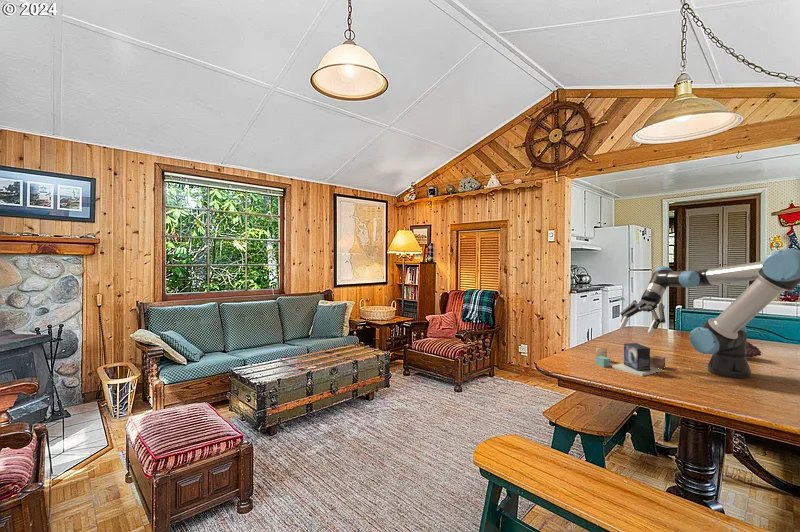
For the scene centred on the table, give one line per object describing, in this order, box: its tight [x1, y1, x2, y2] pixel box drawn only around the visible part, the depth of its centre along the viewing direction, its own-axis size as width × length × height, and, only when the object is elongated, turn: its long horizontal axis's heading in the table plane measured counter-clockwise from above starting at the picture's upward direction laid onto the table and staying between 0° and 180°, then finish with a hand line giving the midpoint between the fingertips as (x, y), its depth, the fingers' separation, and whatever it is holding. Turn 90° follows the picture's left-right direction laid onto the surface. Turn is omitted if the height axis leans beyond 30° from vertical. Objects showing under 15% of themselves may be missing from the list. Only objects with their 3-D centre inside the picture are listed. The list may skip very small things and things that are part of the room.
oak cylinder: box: [595, 347, 608, 358], centre depth 196 cm, size 5×5×6 cm
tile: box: [611, 362, 662, 377], centre depth 179 cm, size 14×14×1 cm
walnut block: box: [650, 355, 666, 370], centre depth 183 cm, size 5×5×5 cm
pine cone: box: [746, 341, 762, 358], centre depth 197 cm, size 18×10×10 cm, turn 8°
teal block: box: [595, 356, 611, 368], centre depth 187 cm, size 5×4×4 cm
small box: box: [623, 342, 651, 371], centre depth 179 cm, size 11×6×10 cm, turn 2°
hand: (634, 331), depth 180 cm, fingers open, 13 cm apart
